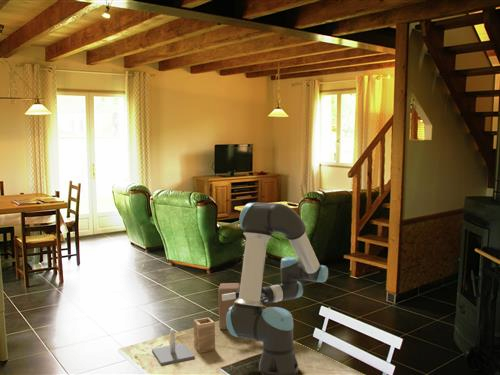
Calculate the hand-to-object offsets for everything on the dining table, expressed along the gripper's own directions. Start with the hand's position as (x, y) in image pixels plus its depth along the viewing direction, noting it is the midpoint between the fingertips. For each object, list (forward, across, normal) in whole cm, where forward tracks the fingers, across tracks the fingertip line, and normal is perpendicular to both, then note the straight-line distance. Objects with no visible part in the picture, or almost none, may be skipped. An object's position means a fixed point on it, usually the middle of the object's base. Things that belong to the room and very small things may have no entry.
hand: (227, 302), depth 212 cm
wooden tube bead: (+12, -1, -18) cm, 22 cm away
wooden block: (-8, +18, -19) cm, 27 cm away
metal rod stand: (+26, -1, -18) cm, 31 cm away
